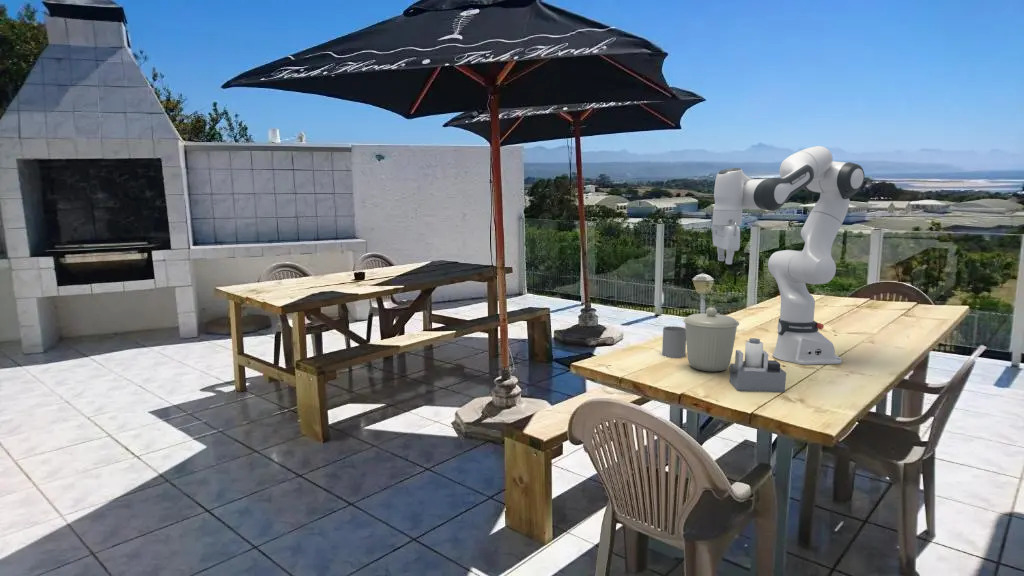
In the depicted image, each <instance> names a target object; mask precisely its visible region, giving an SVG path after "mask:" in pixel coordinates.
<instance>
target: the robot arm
mask: <svg viewBox="0 0 1024 576" xmlns="http://www.w3.org/2000/svg"><path fill="white" fill-rule="evenodd" d="M779 175H780V177H770V178H754V179H753V178H752V177H749V176H747V175H746V174H745V173H744V171H743V169H742V168H740V167H732V168H725V169H722V170H720V171H718V172H717V174H716V176H715V182H714V188H713V198H714V206H713V210H712V217H711V219H710V220H711V221H710V224H711V225H712V227H711V228H712V229H711V230H712V233H711V234H712V244H713V246H714V247H717V248H716V251H717V260H718V261H719V262H724V261H725V262H724V263H725V264H726V265H733V258H734V256H735V252H736V251H737V252H738V251H739V250H740V248H741V228H740V227H739V226H742V223H743V210H763V211H770V212H775V211H778V210H779V209H781V208H782V207H783V206H784V205H785V203H786V202H787V201H788V200H789V199H790V198H791V197H792V196H793V195H795V194H796V193H798V192H800V191H801V190H804V191H807V192H812V193H813V192H814V193H820V195H819V198H818V200H817V201H816V203H815V204H814V206H813V208H812V209H811V210H810V213H809V215H808V217H807V218H806V220H805V222H804V225H803V226H802V228H801V230H800V236H801V238H802V239H803V241H804V246H803V249H802V250H794V249H793V250H792V249H785V250H778V251H775V252H773V253H772V254H771V255H770V257H769V259H768V261H767V262H768V263H767V267H768V271H769V273H770V274H771V275H772V277H774V279H775V281H776V283H777V286H778V291H779V295H780V309H779V310H780V311H779V312H780V314H779V315H780V316H779V318H778V323H777V340H776V343H775V344H776V345H775V348H774V350H773V353H772V357H773V358H775V359H776V360H780V361H785V362H791V363H794V364H799V365H802V366H803V365H804V366H806V365H837V364H839V365H840V364H842V363H843V361H842V358H841V357H840V356H838V355H836V350H835V349H836V348H835V346H834V344H833V342H832V341H831V340H830V339H828V338H827V337H825V336H824V335H823V334H822V333H821V332H820V331H819V330H823V329H824V328H825V325H824V324H823V323H821V322H817V321H816V320H814V317H815V309H816V308H815V307H816V306H815V305H816V301H815V298H814V296H813V295H812V294H811V293H810V292H809V289H808V288H807V285H806V284H809V285H823V284H828V283H829V282H831V281H832V279H834V277H835V275H836V271H837V266H836V262H835V261H834V259H833V256H832V247H833V243H834V241H835V239H836V237H837V235H838V233H839V230H840V229H841V226H842V225H843V223H844V221H845V218H846V216H847V213H848V210H849V207H850V203H851V202H850V199H851V198H852V197H853V196H854V195H856V193H857V192H858V191H859V190H860V189H861V187H862V186H863V184H864V181H865V171H864V169H863V166H861V165H860V164H857V163H854V162H843V161H834V160H833V154H832V152H831V150H830V149H828V148H827V147H825V146H822V145H816V146H811V147H806V148H804V149H801V150H799V151H797V152H794V153H792V154H791V155H788V157H786V158H785V159H784V160H783V161H782V162H781V163H780V166H779ZM725 251H726V253H725ZM725 254H726V257H725Z"/></svg>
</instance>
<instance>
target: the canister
mask: <svg viewBox="0 0 1024 576" xmlns="http://www.w3.org/2000/svg"><path fill="white" fill-rule="evenodd" d="M682 321H683V322H684V323H685V325H684V328H685V329H686V352H687V361H688V364H689V365H690V366H691V368H693V369H696V370H698V371H702V372H709V373H710V372H712V373H714V372H715V373H716V372H722V371H726V370H727V369H728V368H729V367H730V363H731V362H732V356H733V352H734V346H735V345H734V344H735V340H736V335H737V334H736V333H737V329H738V326H739V325H740V322H739V321H738V320H736V319H735V318H734V317H731V316H729V315H725V314H719V313H718V310H717V309H716V308H715V307H710V306H709V307H707V308H706V310H705V313H693V314H690V315H688V316H686V317H684V318H683V319H682Z"/></svg>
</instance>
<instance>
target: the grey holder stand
mask: <svg viewBox="0 0 1024 576" xmlns="http://www.w3.org/2000/svg"><path fill="white" fill-rule="evenodd" d="M734 359H735V360H734V363H731V362H730V364H729V378H728V379H729V380H728V381H729V383H730V384H731V385H732V386H733V388H734V389H735V390H736V391H738V392H739V391H741V392H765V391H769V393H771V392H772V393H785V392H786V381H787V372H786V371H785V370H783V368H781V363H780V362H779V361H777V359H776V360H775V359H774V360H772V359H770V360H769V353H768V352H767V351H765V350H763V355H762V368H754V367H744V362H745V360H744V353H743V352H742V350H738V349H736V350H735V355H734Z"/></svg>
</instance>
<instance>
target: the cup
mask: <svg viewBox="0 0 1024 576" xmlns="http://www.w3.org/2000/svg"><path fill="white" fill-rule="evenodd" d="M661 352H662V353H661V356H663V357H665V356H666V357H665V358H669V357H671V358H670V359H682V357H683V358H685V357H686V352H687V344H686V329H685V327H681V326H671V325H670V326H665V327H663V328H662V350H661Z"/></svg>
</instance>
